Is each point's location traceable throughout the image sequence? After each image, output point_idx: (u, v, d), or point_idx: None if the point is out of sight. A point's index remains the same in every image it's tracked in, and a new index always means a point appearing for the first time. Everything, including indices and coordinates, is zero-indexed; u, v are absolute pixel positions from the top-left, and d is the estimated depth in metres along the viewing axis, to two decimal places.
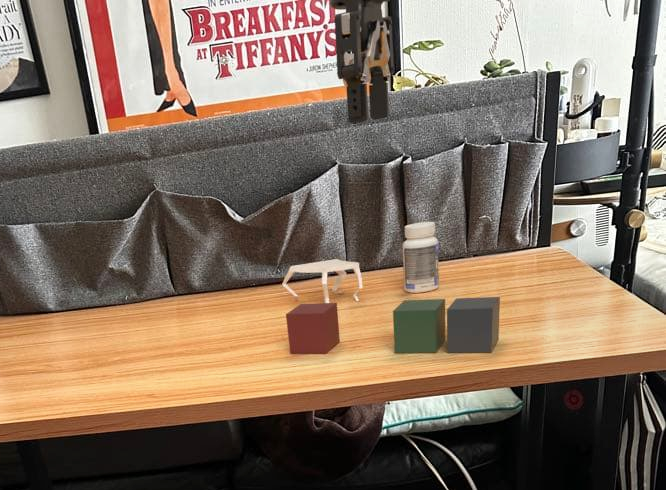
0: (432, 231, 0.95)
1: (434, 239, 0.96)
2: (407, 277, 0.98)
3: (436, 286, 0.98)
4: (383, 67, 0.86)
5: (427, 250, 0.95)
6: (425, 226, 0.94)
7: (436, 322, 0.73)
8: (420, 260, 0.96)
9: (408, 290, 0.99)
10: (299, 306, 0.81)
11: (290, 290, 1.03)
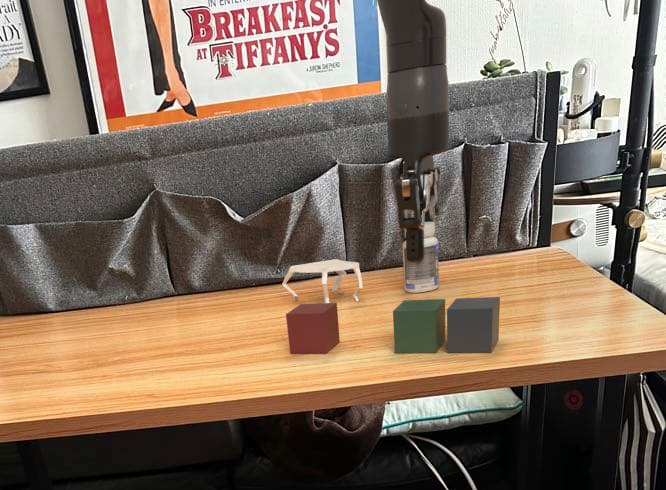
0: (432, 231, 0.95)
1: (434, 239, 0.96)
2: (407, 277, 0.98)
3: (436, 286, 0.98)
4: (430, 208, 0.96)
5: (427, 250, 0.95)
6: (425, 226, 0.94)
7: (436, 322, 0.73)
8: None
9: (408, 290, 0.99)
10: (299, 306, 0.81)
11: (290, 290, 1.03)
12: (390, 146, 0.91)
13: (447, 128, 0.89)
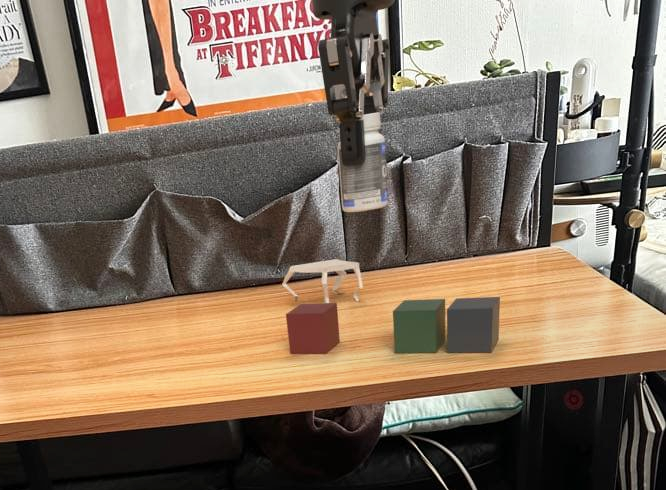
0: (375, 123, 0.69)
1: (379, 135, 0.70)
2: (344, 190, 0.72)
3: (384, 203, 0.73)
4: (375, 94, 0.71)
5: (369, 150, 0.70)
6: (365, 115, 0.69)
7: (436, 322, 0.73)
8: (360, 164, 0.70)
9: (346, 209, 0.73)
10: (299, 306, 0.81)
11: (290, 290, 1.03)
12: None
13: None
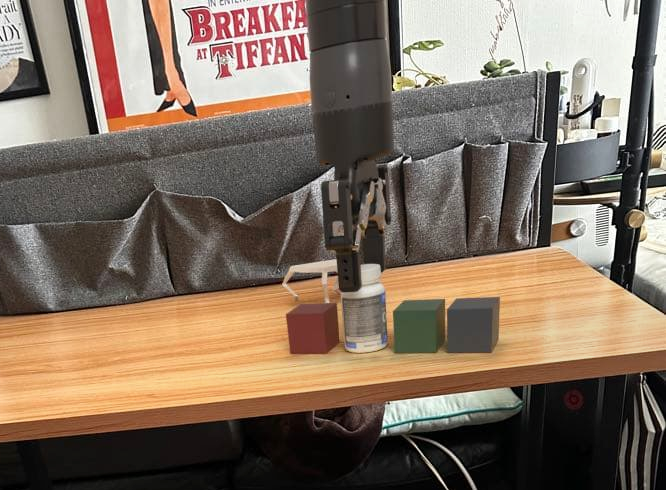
0: (376, 277, 0.74)
1: (379, 287, 0.75)
2: (347, 334, 0.77)
3: (384, 344, 0.78)
4: (379, 221, 0.75)
5: (370, 301, 0.75)
6: (367, 271, 0.74)
7: (436, 322, 0.73)
8: (361, 313, 0.75)
9: (349, 349, 0.78)
10: (299, 306, 0.81)
11: (290, 290, 1.03)
12: (317, 149, 0.69)
13: (390, 124, 0.67)
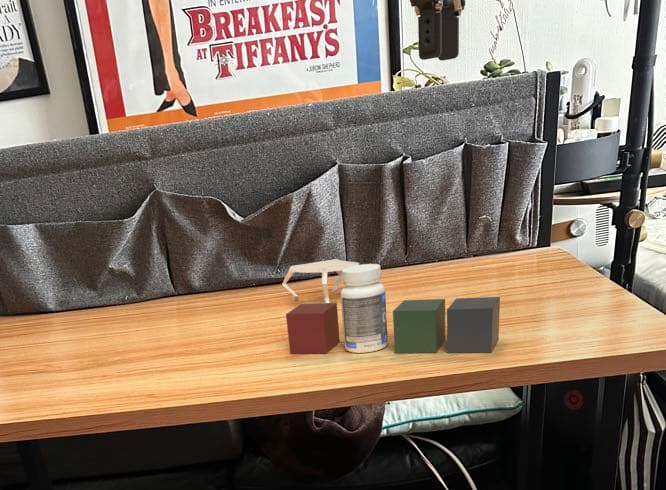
0: (376, 277, 0.74)
1: (379, 287, 0.75)
2: (347, 333, 0.77)
3: (384, 344, 0.78)
4: None
5: (370, 301, 0.75)
6: (367, 271, 0.74)
7: (436, 322, 0.73)
8: (361, 313, 0.75)
9: (349, 349, 0.78)
10: (299, 306, 0.81)
11: (290, 290, 1.03)
12: None
13: None
